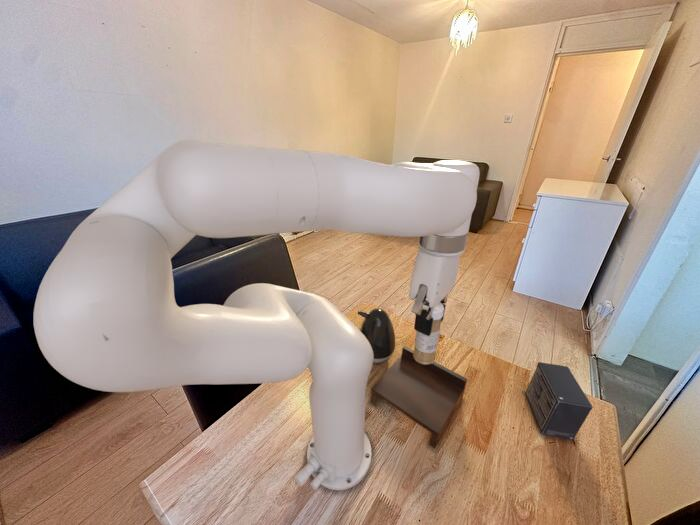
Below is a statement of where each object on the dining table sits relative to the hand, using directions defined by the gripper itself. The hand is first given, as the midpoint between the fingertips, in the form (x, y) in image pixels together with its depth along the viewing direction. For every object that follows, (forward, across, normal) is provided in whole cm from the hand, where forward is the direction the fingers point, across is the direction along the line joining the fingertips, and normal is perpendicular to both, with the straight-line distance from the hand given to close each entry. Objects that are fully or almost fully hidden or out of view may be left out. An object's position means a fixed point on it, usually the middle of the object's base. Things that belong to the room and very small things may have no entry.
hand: (428, 324), depth 56 cm
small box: (+23, -16, +24) cm, 37 cm away
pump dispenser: (+23, -6, -16) cm, 29 cm away
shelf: (+23, 0, 0) cm, 23 cm away
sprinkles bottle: (+9, 0, 0) cm, 9 cm away
